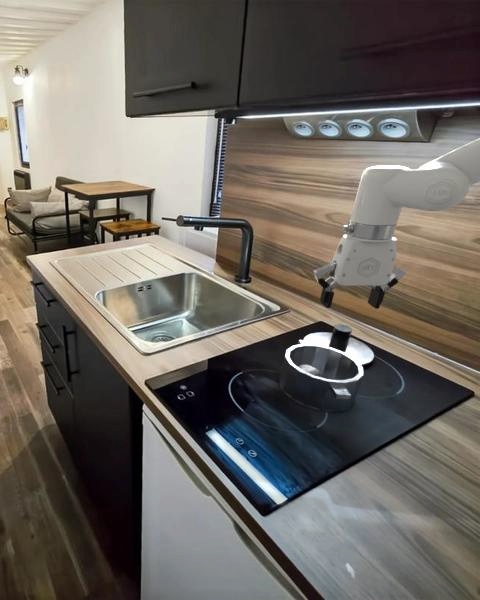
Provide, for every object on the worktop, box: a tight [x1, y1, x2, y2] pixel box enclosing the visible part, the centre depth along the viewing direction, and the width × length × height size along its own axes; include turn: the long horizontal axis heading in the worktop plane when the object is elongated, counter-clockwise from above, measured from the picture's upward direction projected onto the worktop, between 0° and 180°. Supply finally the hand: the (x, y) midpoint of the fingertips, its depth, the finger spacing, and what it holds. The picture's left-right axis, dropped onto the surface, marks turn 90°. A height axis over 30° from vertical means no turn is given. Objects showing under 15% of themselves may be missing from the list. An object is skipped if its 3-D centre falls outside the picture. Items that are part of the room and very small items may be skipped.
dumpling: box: [298, 364, 319, 376], centre depth 79 cm, size 7×5×4 cm
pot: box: [278, 339, 365, 414], centre depth 77 cm, size 14×19×8 cm
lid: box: [303, 323, 375, 367], centre depth 89 cm, size 15×15×7 cm
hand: (348, 305), depth 81 cm, fingers open, 9 cm apart
